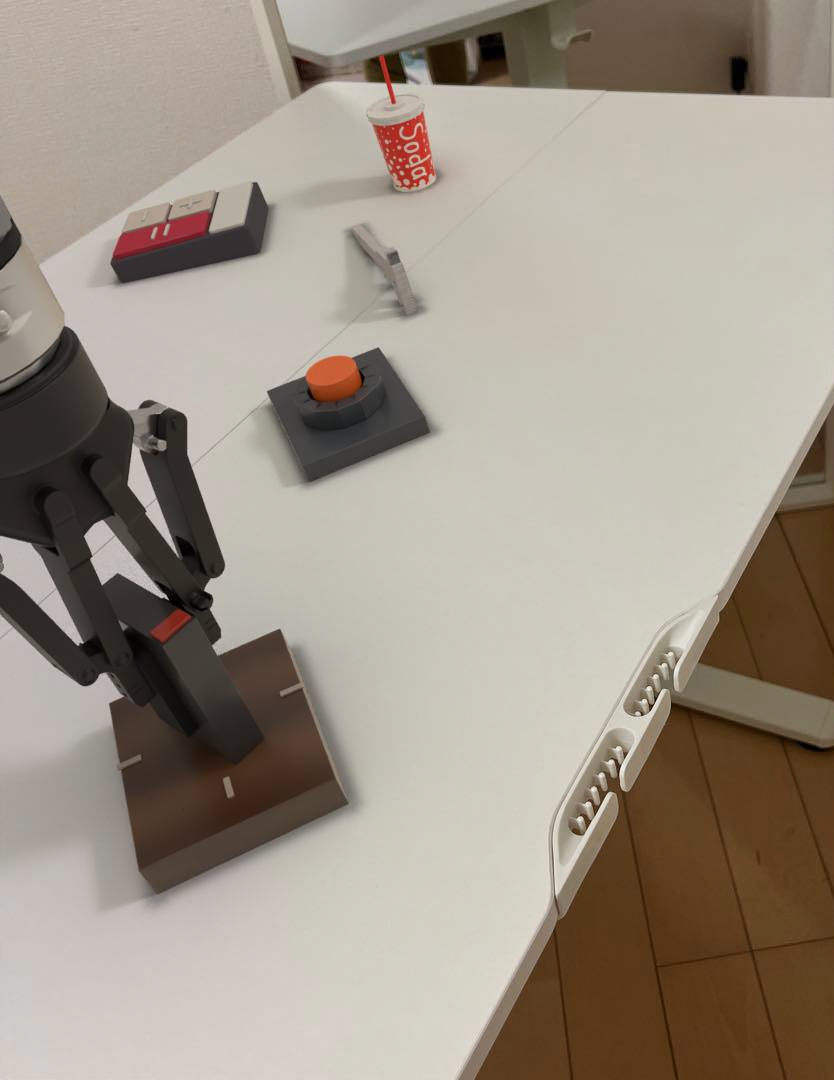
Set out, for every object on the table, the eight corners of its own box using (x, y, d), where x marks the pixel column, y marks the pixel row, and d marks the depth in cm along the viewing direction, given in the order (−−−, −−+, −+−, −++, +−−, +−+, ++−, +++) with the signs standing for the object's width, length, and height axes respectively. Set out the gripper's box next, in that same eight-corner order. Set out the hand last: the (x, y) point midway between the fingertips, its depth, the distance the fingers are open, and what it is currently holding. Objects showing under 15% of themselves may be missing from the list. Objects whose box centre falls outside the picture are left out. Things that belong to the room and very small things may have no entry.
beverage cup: (393, 205, 117) (354, 73, 108) (385, 183, 122) (348, 54, 113) (448, 190, 118) (415, 57, 108) (439, 168, 122) (406, 38, 113)
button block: (275, 412, 92) (258, 372, 90) (385, 368, 94) (372, 328, 91) (311, 488, 84) (294, 447, 81) (432, 438, 86) (419, 396, 83)
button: (306, 385, 88) (299, 367, 86) (353, 367, 88) (347, 349, 87) (320, 410, 85) (312, 391, 83) (368, 390, 85) (361, 372, 84)
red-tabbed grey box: (161, 715, 65) (82, 595, 58) (189, 689, 66) (115, 569, 59) (235, 765, 61) (160, 643, 54) (264, 737, 62) (194, 614, 55)
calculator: (124, 209, 120) (255, 173, 119) (142, 245, 123) (270, 210, 122) (105, 257, 112) (245, 219, 111) (125, 294, 115) (262, 257, 114)
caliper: (420, 317, 99) (402, 255, 95) (409, 322, 99) (390, 259, 95) (361, 232, 114) (343, 174, 110) (351, 235, 114) (333, 178, 110)
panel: (127, 732, 69) (105, 700, 67) (296, 657, 71) (280, 624, 69) (160, 901, 59) (135, 870, 57) (354, 809, 61) (336, 776, 59)
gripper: (-141, 493, 41) (130, 837, 57) (177, 285, 49) (338, 639, 64) (-223, 439, 45) (51, 774, 61) (83, 256, 53) (255, 595, 68)
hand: (198, 704), depth 62 cm, fingers closed on red-tabbed grey box, 2 cm apart
